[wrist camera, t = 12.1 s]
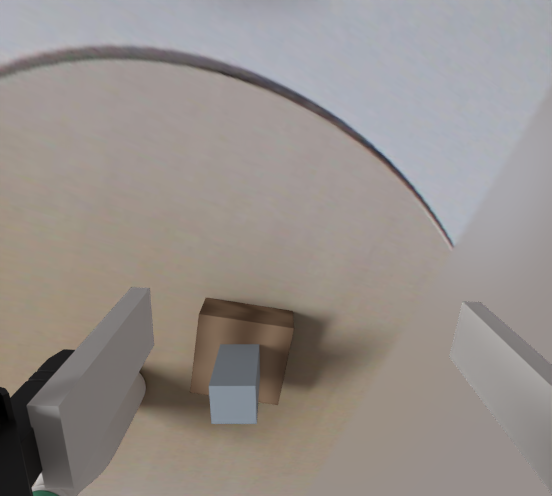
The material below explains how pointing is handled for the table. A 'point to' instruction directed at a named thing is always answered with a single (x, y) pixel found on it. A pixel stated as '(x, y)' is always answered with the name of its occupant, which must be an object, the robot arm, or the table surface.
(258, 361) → the block
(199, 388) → the walnut box
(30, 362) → the table surface
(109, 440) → the milk bottle
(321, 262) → the table surface
